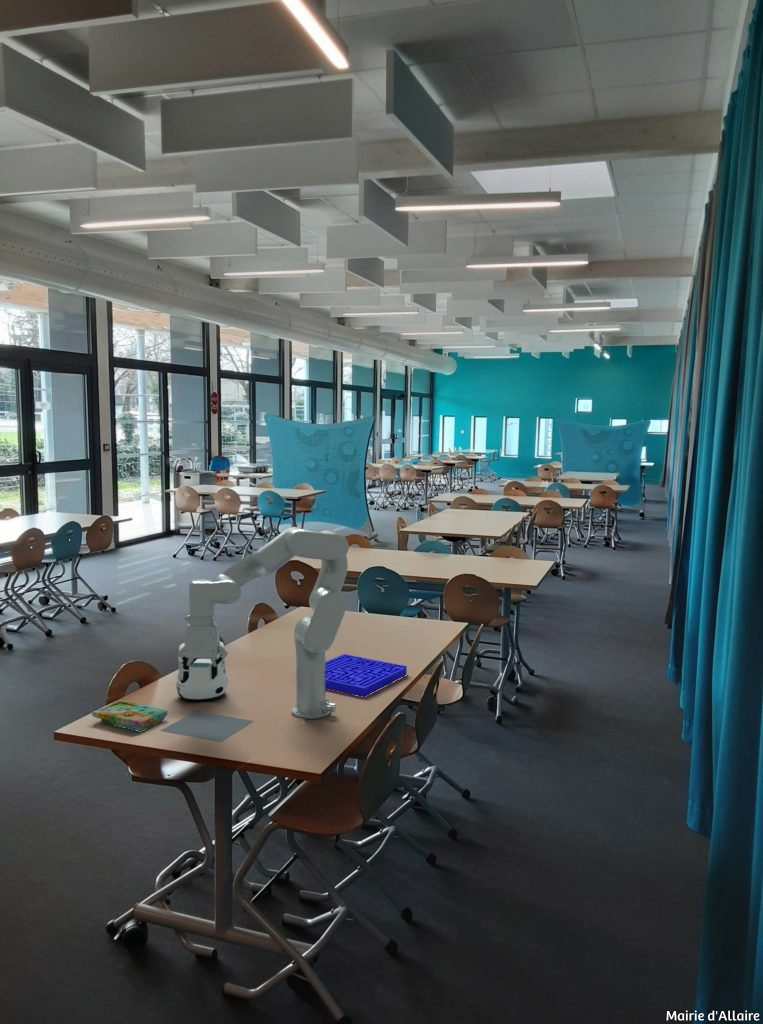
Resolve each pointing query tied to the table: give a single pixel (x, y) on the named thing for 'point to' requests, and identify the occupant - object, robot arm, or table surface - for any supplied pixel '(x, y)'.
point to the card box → (200, 672)
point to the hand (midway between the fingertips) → (203, 677)
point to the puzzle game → (130, 715)
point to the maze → (360, 674)
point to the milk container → (201, 690)
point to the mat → (207, 726)
